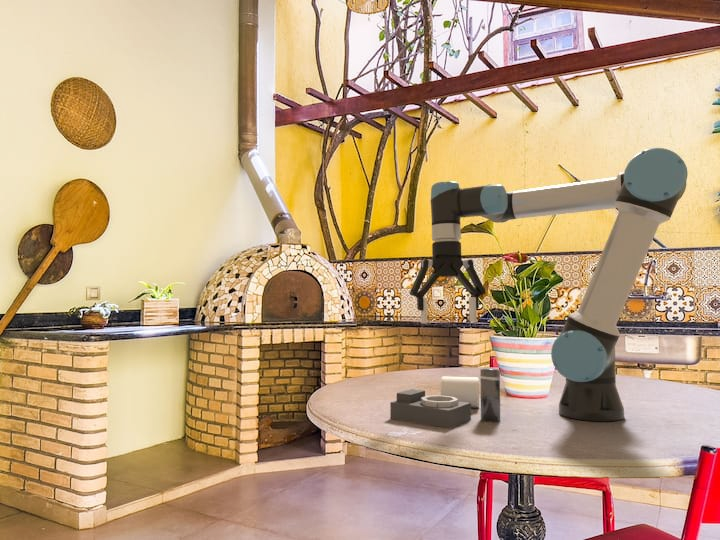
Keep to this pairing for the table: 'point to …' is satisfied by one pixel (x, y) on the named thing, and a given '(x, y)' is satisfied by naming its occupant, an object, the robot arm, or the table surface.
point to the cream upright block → (461, 389)
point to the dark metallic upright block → (490, 394)
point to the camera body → (429, 409)
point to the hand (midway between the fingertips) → (448, 322)
